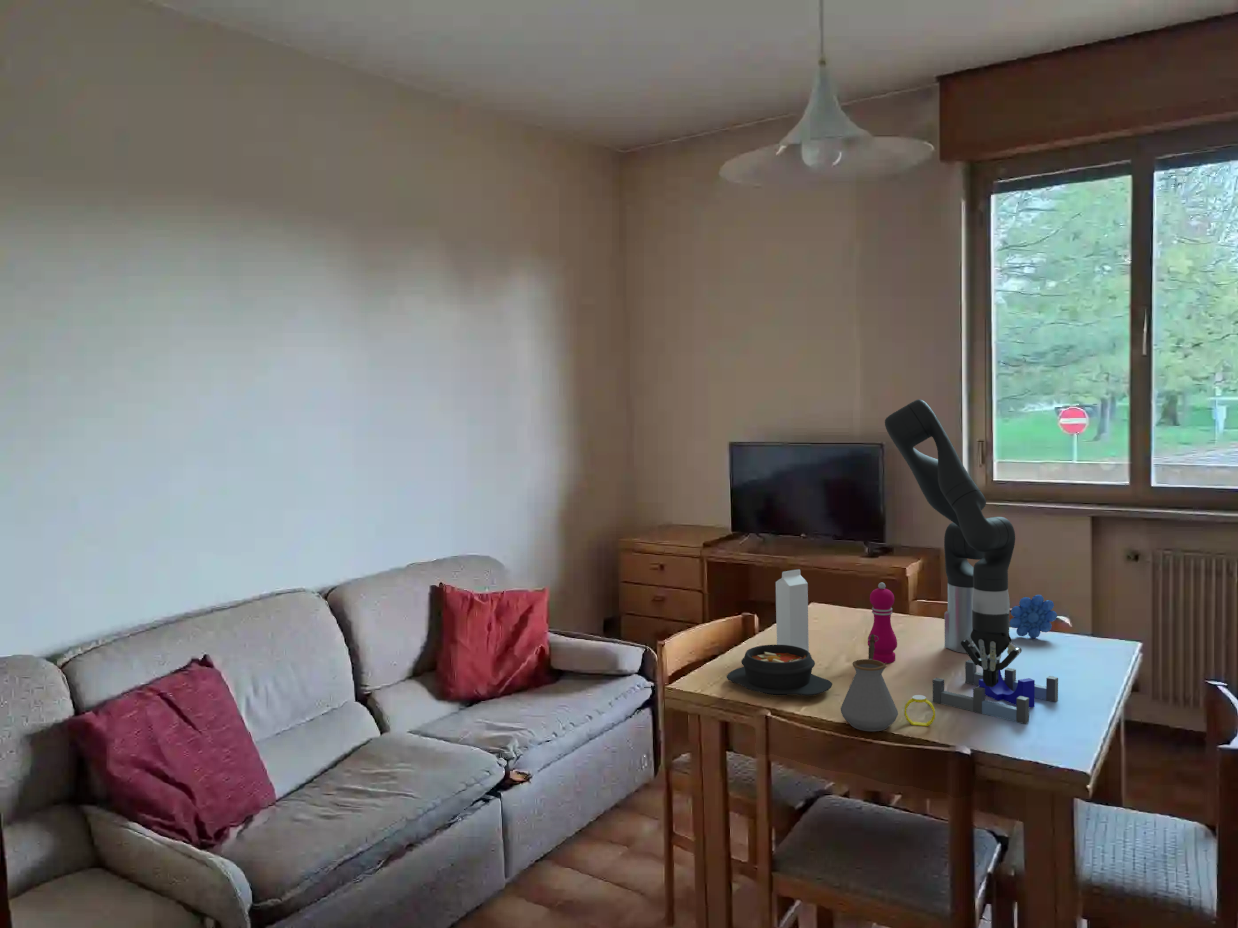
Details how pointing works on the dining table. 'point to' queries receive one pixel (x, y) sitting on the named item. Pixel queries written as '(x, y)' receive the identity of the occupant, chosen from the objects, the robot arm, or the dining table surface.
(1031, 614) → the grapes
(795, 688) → the casserole
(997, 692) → the blue curved block
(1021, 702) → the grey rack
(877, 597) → the pepper mill
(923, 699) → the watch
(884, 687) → the coffee pot
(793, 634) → the milk
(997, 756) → the dining table surface
